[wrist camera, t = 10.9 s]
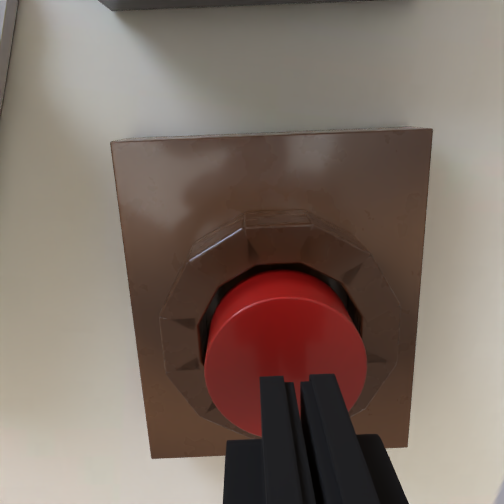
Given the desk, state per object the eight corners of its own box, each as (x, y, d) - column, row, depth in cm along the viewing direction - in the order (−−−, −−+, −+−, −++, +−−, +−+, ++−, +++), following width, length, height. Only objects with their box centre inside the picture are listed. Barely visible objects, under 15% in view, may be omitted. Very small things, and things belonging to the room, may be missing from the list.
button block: (125, 138, 16) (87, 146, 12) (410, 126, 16) (464, 130, 12) (160, 424, 19) (139, 502, 15) (391, 414, 19) (428, 489, 15)
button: (204, 271, 13) (197, 300, 11) (351, 265, 13) (371, 293, 11) (214, 397, 15) (209, 444, 13) (347, 391, 15) (365, 437, 13)
